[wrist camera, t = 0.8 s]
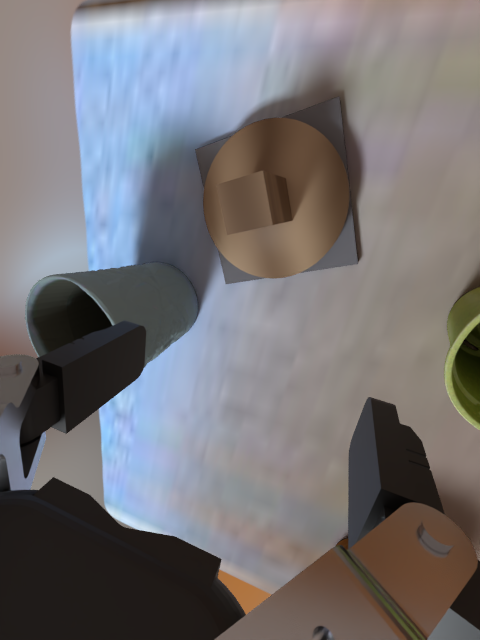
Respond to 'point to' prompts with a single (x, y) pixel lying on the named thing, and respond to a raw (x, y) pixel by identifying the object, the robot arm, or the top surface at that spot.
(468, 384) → the plant pot
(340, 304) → the top surface
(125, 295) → the grey green tapered cylinder
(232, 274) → the mat
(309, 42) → the top surface
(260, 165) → the lid
